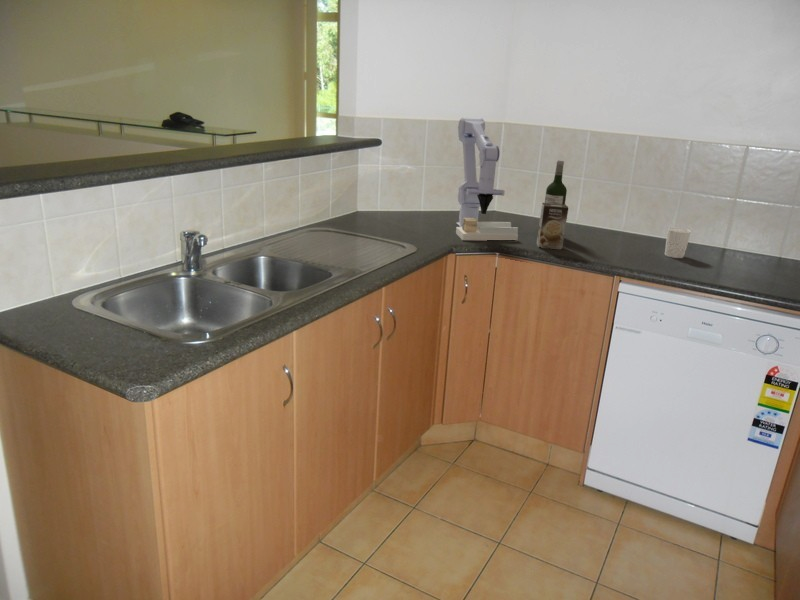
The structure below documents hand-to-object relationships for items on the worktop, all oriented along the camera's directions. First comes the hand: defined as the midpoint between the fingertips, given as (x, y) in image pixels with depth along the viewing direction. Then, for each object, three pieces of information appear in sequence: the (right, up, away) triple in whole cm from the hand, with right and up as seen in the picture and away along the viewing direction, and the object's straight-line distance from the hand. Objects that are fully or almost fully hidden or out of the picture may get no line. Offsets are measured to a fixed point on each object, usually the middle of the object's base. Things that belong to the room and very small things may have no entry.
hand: (483, 213), depth 247 cm
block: (-5, -6, +1) cm, 9 cm away
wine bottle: (+29, -8, +11) cm, 32 cm away
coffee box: (+24, -14, -6) cm, 28 cm away
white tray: (+1, -9, +4) cm, 10 cm away
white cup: (+70, -17, -9) cm, 73 cm away
